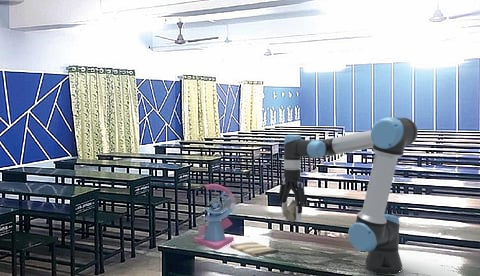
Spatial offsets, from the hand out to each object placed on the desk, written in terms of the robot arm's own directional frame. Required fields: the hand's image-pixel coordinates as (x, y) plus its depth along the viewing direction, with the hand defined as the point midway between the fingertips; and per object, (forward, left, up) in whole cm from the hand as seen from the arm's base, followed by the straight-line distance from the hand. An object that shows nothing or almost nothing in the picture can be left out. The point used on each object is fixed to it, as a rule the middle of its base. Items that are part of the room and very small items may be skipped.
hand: (291, 218), depth 231 cm
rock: (0, 0, -1) cm, 1 cm away
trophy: (+39, +16, -18) cm, 46 cm away
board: (+18, +8, -17) cm, 26 cm away
